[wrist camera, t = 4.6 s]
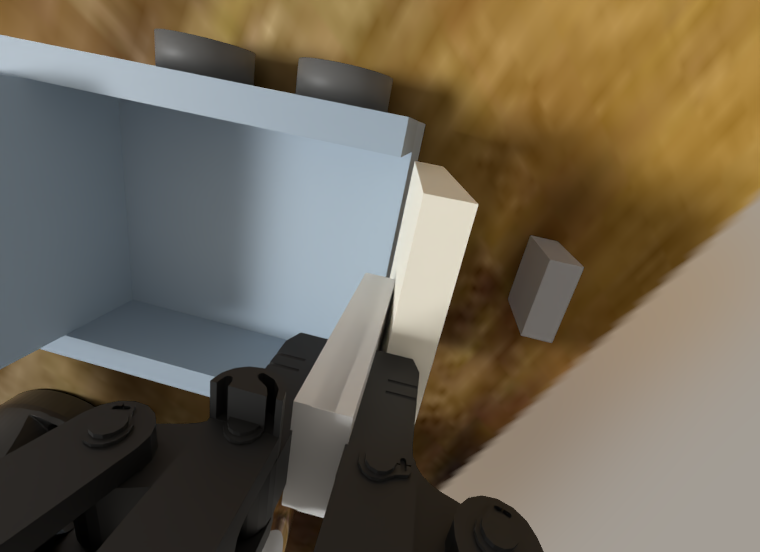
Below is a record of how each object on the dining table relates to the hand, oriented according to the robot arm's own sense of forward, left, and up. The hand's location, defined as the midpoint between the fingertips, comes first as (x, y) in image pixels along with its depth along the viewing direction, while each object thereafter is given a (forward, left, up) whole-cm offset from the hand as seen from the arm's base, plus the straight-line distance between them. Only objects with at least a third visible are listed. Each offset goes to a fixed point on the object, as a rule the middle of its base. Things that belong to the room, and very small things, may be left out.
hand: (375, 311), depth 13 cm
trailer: (-3, +2, -10) cm, 10 cm away
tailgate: (0, 0, -5) cm, 5 cm away
